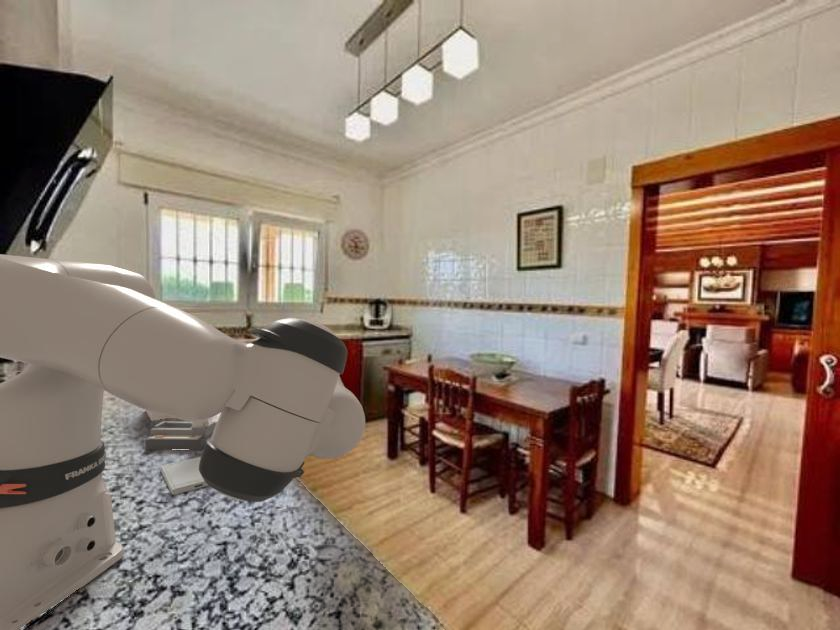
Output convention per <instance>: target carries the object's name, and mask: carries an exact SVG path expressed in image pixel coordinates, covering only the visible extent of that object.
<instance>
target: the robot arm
mask: <svg viewBox="0 0 840 630" xmlns="http://www.w3.org/2000/svg"><path fill="white" fill-rule="evenodd" d="M248 332H249V333H250V334H252V335H254V336H256V337H258V339H256V340H253V341H251V342H249V343H246V342H243V341H239V340H237V339H236V338H232V337H231V336H230V335H227V334H226V333H224V332H222V331H220V329H218V328H216V327H214V326H213V325H211V324H209V323H208V322H207V321H205V320H203V319H201V318H199V317H198V316H195V315H193V314H191V313H189V312H186V311H184V310H182V309H181V308H179V307H176V306H173V305H171V304H168V303H165V302H162V301H161V300H158V299H157V298H156V293H155V291H154V288H153V286H152V285H151V283H150V282H149V280H148V279H146V277H145V276H144V275H141V274H140V273H138V272H134V271H130V270H128V269H124V268H120V267H117V266H114V265H110V264H105V263H94V262H85V261H84V262H83V261H76V260H75V261H73V260H65V259H64V260H63V259H55V258H43V257H42V258H41V257H33V256H22V255H12V254H3V253H2V254H1V253H0V358H1V359H5V360H10V361H15V362H20V363H25V364H29V365H28V366H27V367H25V369H23V370H22V371H21V372H20V373H17V374H16V375H14V376H12V377H10V378H8V379H6V380H5V381H2V382H1V383H0V630H19V629H20V628H21V627H23V626H24V625H26V624H27V623H29V622H30V621H31V620H33V619H35V618H36V617H37V616H39V615H40V614H42V613H44V612H45V611H47V610H48V609H49V608H51V607H52V606H54V605H55V604H57V603H58V602H60V601H61V600H63V599H64V598H66V597H67V596H69V595H70V594H72V593H73V592H75V591H76V590H78V589H79V588H80V589H82V588H83V587H85V586H86V585H87V584H88V583H90V582H91V581H92V580H94V579H95V578H97V577H98V576H99V575H100V574H102V573H103V572H105V571H107V570H108V568H110V567H111V566H113V565H114V564H116V563H117V562H118V561H120V560H121V559H122V558H123V556H124V553H125V552H124V548H123V545H122V544H121V543H120V542H118V541H117V540H116V531H115V521H114V512H113V511H114V510H113V503H112V496H111V493H110V491H109V489H108V488H107V485H106V483H105V481H104V479H103V471H104V470H105V468H106V458H107V451H106V448H105V443H104V441H103V440H102V415H103V403H104V393H105V392H107V393H109V394H111V395H113V396H115V397H116V398H118V399H120V400H123V401H124V402H126V403H129V404H131V405H133V406H135V407H138V408H140V409H143V410H144V411H145V410H148V411H151V412H154V413H157V414H161V415H164V416H168V417H172V418H171V419H175V420H176V419H177V420H182V421H185V422H192V421H199V420H205V419H208V418H209V419H211V418H213V417H215V416H217V415H219V417H218V419H217V421H216V422H217V424H216V426H215V429H214V431H213V434H212V437H211V438H209V439H207V440H206V443H205V446H204V448H203V449H202V453H201V455H200V457H201V459H200V463H199V472H200V474H201V476H202V478H203V479H204V481H205V482H206V483H207V484H208V485H209V487H210V488H212V489H214V490H216V492H218V493H220V494H221V495H222V496H225V497H227V498H229V499H232V500H237V501H240V502H241V501H242V502H251V503H252V502H253V503H260V502H265V501H267V500H269V499H270V498H273V497H275V496H277V495H279V494H280V493H281V492H283V490H285V488H287V486H288V485H289V484H290V483H291V482H292V481H293V480H294V479H296V478H301V477H302V476H303V475H304V474H305V471H304V470H303V469H302V468H303V466H304V464H305V460H306V459H307V458H308V457H309V456H312V457H315V458H319V459H327V460H334V459H339V458H341V457H343V456H345V455H347V454H350V452H351V451H353V450H354V449H355V448H356V447H357V445H358V444H359V443H360V441H362V437H363V435H364V433H365V428H366V416H365V412H364V408H363V406H362V403H360V401H359V400H358V398H357V397H356V396H355V394H354V393H353V392H352V391H351V390H349V389H348V388H347V387H345V385H344V383H343V381H342V379H341V377H340V375H343V374H344V372H345V371H344V370H345V367H346V363H347V359H348V349H347V347H346V344H345V342H344V341H343V340H342V339H340V338H339V336H338V335H337V334H336V333H335V332H334V331H332V330H331V328H329V327H327V326H326V325H324V324H322V323H320V322H317V321H315V320H310V319H305V318H304V319H303V318H295V317H287V318H281V319H278V320H277V319H276V320H274V321H272V322H270V323H268V324H266V326H263V327H262V328H259V327H252V328H250V329H249V330H248ZM81 587H82V588H81ZM80 589H79V590H80ZM79 590H78V591H79ZM76 592H77V591H76ZM76 592H75V593H76ZM72 595H73V594H72ZM69 597H70V596H69Z"/></svg>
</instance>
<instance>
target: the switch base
mask: <svg viewBox="0 0 840 630" xmlns="http://www.w3.org/2000/svg"><path fill="white" fill-rule="evenodd" d="M216 424H217V421H209V422H208V425H206V426H205V427H204V428H191V427H192V421H185V420H182V421H178V420H177V421H173V420H172V421H170V420H169V421H168V420H162V421H161V422H159V423H157V424H155V425H154V426H153V428H151V429H150V436H149V437H147V438H145V440H144V443H145V445H144V450H145V451H173V450H172V449H189V450H188V451H202V450H203V449H204V446H205V443H206V440H207V439H209V438H211V437H212V434H213V431H214V429H215V426H216ZM202 448H203V449H202ZM201 449H202V450H201Z"/></svg>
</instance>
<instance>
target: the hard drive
mask: <svg viewBox="0 0 840 630" xmlns="http://www.w3.org/2000/svg"><path fill="white" fill-rule="evenodd" d="M200 459H201V456H198V457H197V456H196V457H193V458H188V459H183V460H180V461H175V462H174V461H173V462H172V463H171V462H170V463H165V464H163V465H161V466H160V468H159V469H160V473H161V474H162V476H163V479H164V481H165V483H166V486H167V487H168V489H169V491H170V494H171V495H172V496H173V495H177V494H182V493H185V492H189V491H194V490H196V489H200V488H204V487H208V486H209V485H208V484H207V483H206V482H205V481H204V479H203V478H202V476H201V474H200V472H199V463H200ZM209 487H210V486H209Z"/></svg>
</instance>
